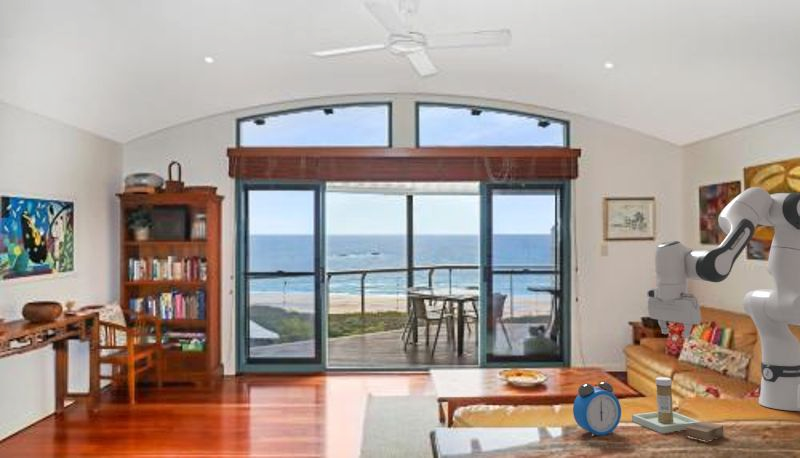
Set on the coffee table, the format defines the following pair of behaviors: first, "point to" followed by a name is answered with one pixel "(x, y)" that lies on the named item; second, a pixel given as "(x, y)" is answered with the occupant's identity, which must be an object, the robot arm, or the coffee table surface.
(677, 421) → the dish
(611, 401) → the alarm clock
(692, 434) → the walnut block
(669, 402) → the sprinkles bottle
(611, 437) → the coffee table surface
